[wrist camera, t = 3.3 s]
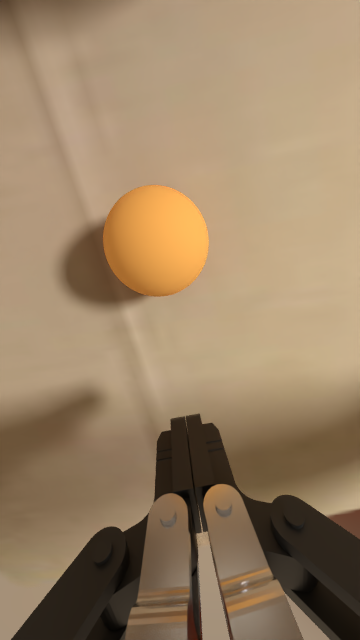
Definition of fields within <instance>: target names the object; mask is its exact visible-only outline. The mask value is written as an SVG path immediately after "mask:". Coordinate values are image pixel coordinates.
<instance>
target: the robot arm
mask: <svg viewBox="0 0 360 640" xmlns="http://www.w3.org/2000/svg"><path fill="white" fill-rule="evenodd" d="M186 422H187V426H186ZM187 429H188V431H187ZM156 461H157V462H156V479H155V498H154V503H153V505H152V507H151V509H150V511H149V513H148V514H147V516H146V517H145V518H144V519H143V520H142V521H141V522H139V523H138V524H136V525H134V526H133V527H131V528H129V529H128V530H126V531H124V532H122V531H121V530H120V529H119V528H117V527H107V528H104V529H102V530H100V531H99V532H97V533H96V534H95V535H94V536H93V537H92V538H91V540H90V541H89V542H88V543H87V545H86V546H85V547H84V548H83V550H82V551H81V552H80V553H79V555H78V556H77V557H76V558H75V560H74V561H73V562H72V564H71V565H70V566H69V567H68V569H67V570H66V571H65V572H64V574H63V575H62V576H61V577H60V579H59V580H58V581H57V582H56V584H55V585H54V586H53V587H52V589H51V590H50V591H49V593H48V594H47V595H46V596H45V598H44V599H43V600H42V601H41V603H40V604H39V605H38V607H37V608H36V609H35V610H34V611H33V613H32V614H31V615H30V616H29V618H28V619H27V620H26V622H25V623H24V624H23V625H22V627H21V628H20V629H19V630H18V632H17V633H16V634H15V635H14V637H13V638H12V639H11V640H203V638H202V619H201V602H200V583H199V563H198V546H197V537H196V533H202V531H201V524H200V517H201V522H202V527H203V532H206V531H208V535H209V541H210V546H211V552H212V557H213V563H214V567H215V572H216V577H217V581H218V586H219V590H220V595H221V600H222V604H223V609H224V614H225V618H226V623H227V627H228V632H229V637H230V640H303V637H302V635H301V632H300V630H299V627H298V625H297V623H296V620H295V618H294V615H293V613H292V610H291V608H290V605H289V603H288V601H287V598H286V596H285V594H284V592H285V593H286V594H287V595H288V596H289V597H290V598H291V600H292V601H293V602H295V604H296V605H297V606H298V607H299V608H300V609H301V610H302V611H303V612H304V613H305V614H306V615H307V616H308V617H309V618H310V619H311V620H312V621H313V622H314V623H315V624H316V625H317V626H318V627H319V628H320V629H321V630H322V631H323V633H324V634H326V635H327V637H328V638H329V639H330V640H360V539H358V538H357V537H355V536H354V535H352V534H351V533H350V532H348V531H347V530H345V529H344V528H342V527H341V526H339V525H338V524H336V523H335V522H333V521H332V520H330V519H329V518H327V517H326V516H325V515H323V514H322V513H320V512H319V511H317V510H316V509H314V508H313V507H311V506H310V505H308V504H307V503H305V502H304V501H302V500H301V499H299V498H297V497H295V496H291V495H281V496H279V497H277V498H275V499H274V501H273V502H272V504H271V503H266V502H261V501H256V500H253V499H250V498H248V497H247V496H245V495H244V494H243V493H242V492H241V491H240V490H239V489H238V487H237V486H236V484H235V481H234V478H233V475H232V472H231V468H230V465H229V462H228V459H227V455H226V452H225V450H224V446H223V443H222V439H221V436H220V433H219V430H218V429H217V428H216V427H215V426H214V424H213V423H208V424H202V422H201V417H200V414H194V415H189V416H186V420H185V416H184V417H178V418H172V419H171V430H169V431H164V432H161V434H160V436H159V438H158V441H157V456H156ZM198 506H199V508H198ZM199 511H200V516H199Z"/></svg>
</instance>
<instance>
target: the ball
mask: <svg viewBox="0 0 360 640" xmlns="http://www.w3.org/2000/svg"><path fill="white" fill-rule="evenodd" d="M208 245H209V241H208V232H207V227H206V224H205V221H204V219H203V217H202V215H201V213H200V211H199V210H198V208H197V207H196V206H195V204H194V203H193V202H192V201H191V200H190V199H189V198H188V197H186V196H185V195H183V194H182V193H181V192H179V191H177V190H175V189H172V188H169V187H166V186H160V185H148V186H143V187H139V188H136V189H134V190H131V191H130V192H128V193H126V194H125V195H124V196H123V197H121V198H120V199H119V200H118V201H117V202H116V203H115V205H114V206H113V208H112V209H111V211H110V213H109V215H108V217H107V219H106V222H105V226H104V231H103V246H104V252H105V256H106V259H107V261H108V263H109V266H110V268H111V269H112V271H113V272H114V274H115V275H116V276H117V278H118V279H119V280H120V281H121V282H122V283H123V284H125V285H126V286H127V287H129V288H130V289H132V290H134V291H136V292H138V293H141V294H144V295H148V296H168V295H172V294H175V293H177V292H179V291H181V290H183V289H185V288H186V287H187V286H189V285H190V284H191V283H192V282H193V281H194V280H195V279H196V278H197V277H198V275H199V274H200V272H201V270H202V269H203V266H204V264H205V261H206V258H207V254H208Z"/></svg>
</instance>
